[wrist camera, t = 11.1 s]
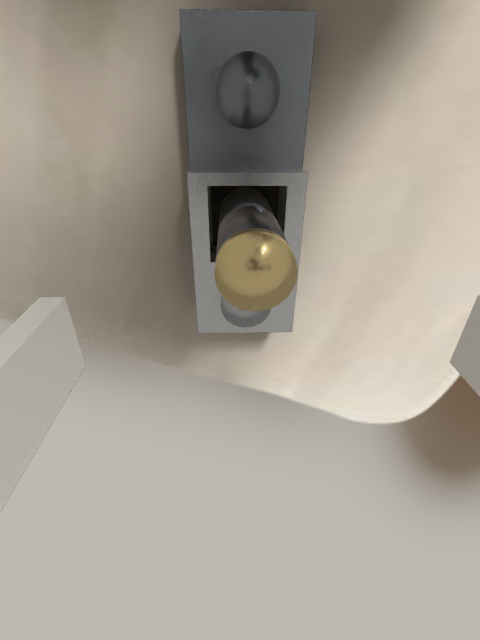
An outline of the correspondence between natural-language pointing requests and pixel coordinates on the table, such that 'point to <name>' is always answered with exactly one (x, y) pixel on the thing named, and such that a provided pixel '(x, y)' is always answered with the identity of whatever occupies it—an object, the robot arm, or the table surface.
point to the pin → (252, 253)
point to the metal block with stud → (245, 136)
